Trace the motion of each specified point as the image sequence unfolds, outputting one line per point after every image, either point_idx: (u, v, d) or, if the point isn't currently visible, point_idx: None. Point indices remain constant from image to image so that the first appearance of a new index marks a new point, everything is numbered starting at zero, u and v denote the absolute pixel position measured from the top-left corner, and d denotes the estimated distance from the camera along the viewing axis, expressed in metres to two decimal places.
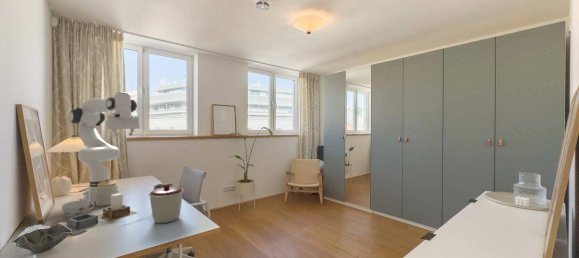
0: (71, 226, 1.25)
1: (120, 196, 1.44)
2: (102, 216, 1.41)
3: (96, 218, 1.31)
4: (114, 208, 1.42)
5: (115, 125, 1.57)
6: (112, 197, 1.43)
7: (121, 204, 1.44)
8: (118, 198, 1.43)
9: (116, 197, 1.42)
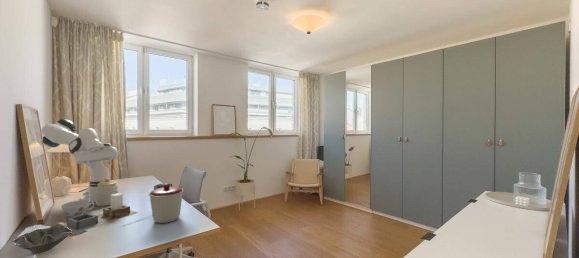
0: (71, 226, 1.25)
1: (120, 196, 1.44)
2: (102, 216, 1.41)
3: (96, 218, 1.31)
4: (114, 208, 1.42)
5: None
6: (112, 197, 1.43)
7: (121, 204, 1.44)
8: (118, 198, 1.43)
9: (116, 197, 1.42)
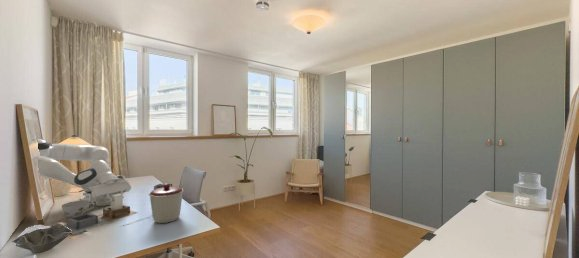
0: (71, 226, 1.25)
1: (120, 196, 1.44)
2: (102, 216, 1.41)
3: (96, 218, 1.31)
4: (114, 208, 1.42)
5: None
6: (112, 197, 1.43)
7: (121, 204, 1.44)
8: (118, 198, 1.43)
9: (116, 197, 1.42)
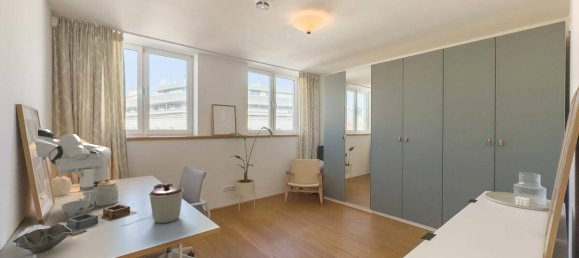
0: (71, 226, 1.25)
1: (91, 171, 1.30)
2: (102, 216, 1.41)
3: (96, 218, 1.31)
4: (84, 184, 1.28)
5: None
6: (82, 172, 1.29)
7: (91, 180, 1.31)
8: (88, 173, 1.29)
9: (86, 172, 1.28)
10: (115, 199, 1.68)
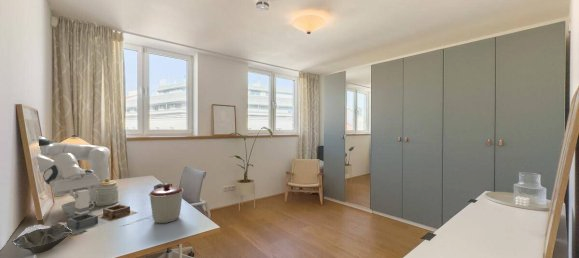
0: (71, 226, 1.25)
1: (86, 192, 1.28)
2: (102, 216, 1.41)
3: (96, 218, 1.31)
4: (79, 205, 1.26)
5: None
6: (76, 193, 1.27)
7: (86, 201, 1.29)
8: (83, 194, 1.27)
9: (81, 193, 1.27)
10: (115, 199, 1.68)
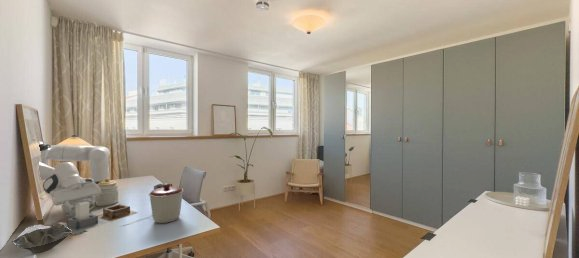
0: (71, 226, 1.25)
1: (86, 204, 1.29)
2: (102, 216, 1.41)
3: (96, 218, 1.31)
4: (79, 218, 1.27)
5: None
6: (77, 206, 1.27)
7: (87, 213, 1.29)
8: (83, 207, 1.28)
9: (81, 206, 1.27)
10: (115, 199, 1.68)
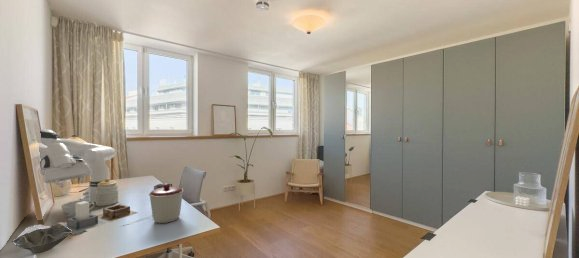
0: (71, 226, 1.25)
1: (86, 204, 1.29)
2: (102, 216, 1.41)
3: (96, 218, 1.31)
4: (79, 218, 1.27)
5: None
6: (77, 206, 1.27)
7: (87, 213, 1.29)
8: (83, 207, 1.28)
9: (81, 206, 1.27)
10: (115, 199, 1.68)
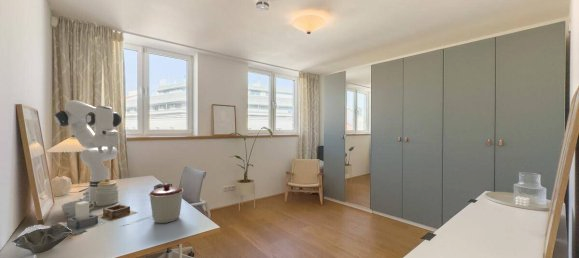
0: (71, 226, 1.25)
1: (86, 204, 1.29)
2: (102, 216, 1.41)
3: (96, 218, 1.31)
4: (79, 218, 1.27)
5: None
6: (77, 206, 1.27)
7: (87, 213, 1.29)
8: (83, 207, 1.28)
9: (81, 206, 1.27)
10: (115, 199, 1.68)
